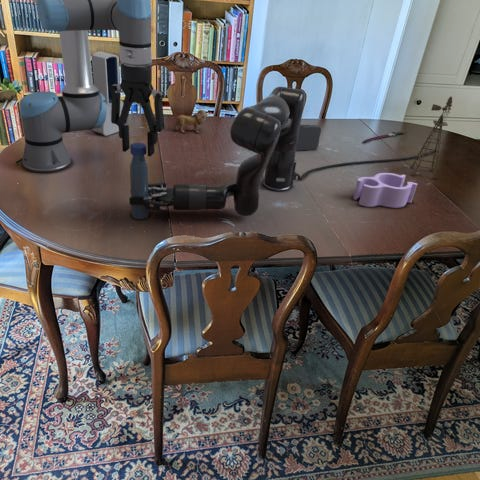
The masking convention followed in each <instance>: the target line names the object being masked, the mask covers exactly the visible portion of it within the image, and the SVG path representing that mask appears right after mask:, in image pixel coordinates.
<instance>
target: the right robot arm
mask: <svg viewBox="0 0 480 480" xmlns="http://www.w3.org/2000/svg"><path fill="white" fill-rule="evenodd" d="M305 104H306V92H305V90H303V89H299V88H294V87H293V88H292V87H287V86H277V87H275V88H274V89H273V90H272V91H271V92H270V94H269V95H268V96H267V97H265V98H263V99H262V100H260V101H259V102H258V103H256V104H254V105H250V106H246V107H244V108H242V109H241V110H240V111H239V112H238V113H237V115H235V117H234V119H233V121H232V123H231V125H230V139H231V141H232V142H233V143H234V144H235V145H237V146H238V147H241V148H242V149H245V150H247V151H250V152H253V153H255V154H254V155H252V156H250V157H248V158H246V159H244V160H243V162H242V163H240V164H239V166H238V168H237V172H236V178H235V179H236V180H235V181H233V182H230V183H225V184H221V185H204V184H196V183H195V184H192V183H191V184H190V183H189V184H188V183H175V184H173V188H170V187H167V183H166V182H155V183H148V197H144V198H143V197H131V196H130V197H129V205H131V206H132V205H143V206H144V207H146V210H149V211H152V212H153V211H154V212H161V213H167V209H168V207H173V210H175V211H204V210H213V211H215V210H216V211H217V210H218V211H219V210H223V209H225V207H226V205H227V199H228V198H229V197H233V207H234V211H235V212H236V213H237V214H238V215H240V216H242V217H249V216H252V215H253V214H256V212H257V211H258V208H259V203H260V187H261V185H262V181H263V186H264V187H265V188H267V189H268V190H272V191H277V192H283V191H284V192H285V191H288V190H289V189H290V188H291V187H293V184H294V181H296V180H297V179H298V180H300V181H302V180H303V179H305V178H306V176H307V175H308V174H310V173H312V172H316V171H319V170H324V169H328V168H333V167H334V168H335V167H341V166H348V165H357V164H359V165H360V164H370V163H382V162H394V161H404V160H410V159H416V158H417V156H418V154H416V155H411V156H405V157H399V158H388V159H386V158H385V159H374V160H372V159H371V160H360V161H351V162H342V163H335V164H328V165H324V166H320V167H315V168H311V169H309V170H307V171H306V172H305V173H304V174H303V175H302V176H301V175H300V174H299V173H297V172H296V166H297V160H296V152H297V150H296V147H297V141H298V135H299V129H300V125H301V123H302V118H303V113H304V109H305ZM289 120H290V121H289ZM288 121H289V122H288ZM434 152H435V151H433V150H429V151H428V152H427V151H426V153H429V154H434ZM422 155H423V154H422V153H421V154H420V158H422ZM427 155H428V154H425V155H424V156H427ZM263 177H264V178H263Z"/></svg>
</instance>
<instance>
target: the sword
mask: <svg viewBox="0 0 480 480" xmlns="http://www.w3.org/2000/svg"><path fill="white" fill-rule="evenodd" d="M401 132H402V131H396V132H394V131H392V132H391V133H387V134H383V135H377V136H374V137H369V138H367V139H365V140H363V144H365V143H367V142H370V141H373V140H377V139H382V138H387V137H393V136H397V135H401V134H402V133H401ZM406 133H407V131H406V132H405V133H404V134H406Z"/></svg>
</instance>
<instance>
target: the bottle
mask: <svg viewBox="0 0 480 480" xmlns="http://www.w3.org/2000/svg"><path fill="white" fill-rule="evenodd" d="M147 162H148V161H147V159H146V157H145V155H143V156H134V155H132V158H131V161H130V164H129V174H130V175H129V176H130V179H129V180H130V197H143V198H144V197H148V184H149V166H148V165H149V164H148V163H147ZM149 211H150V210H146V207H144V206H143V205H131V217H132V218H134V219H135V220H144V219H147V218H148V217H149V216H150V213H149Z"/></svg>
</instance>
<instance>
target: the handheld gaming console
mask: <svg viewBox="0 0 480 480" xmlns="http://www.w3.org/2000/svg"><path fill="white" fill-rule="evenodd" d="M321 133H322V127H321V126H319V125H318V124H300V129H299V135H298V141H297V147H296V151H312V150H317V148H318V147H319V144H320V137H321Z"/></svg>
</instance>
